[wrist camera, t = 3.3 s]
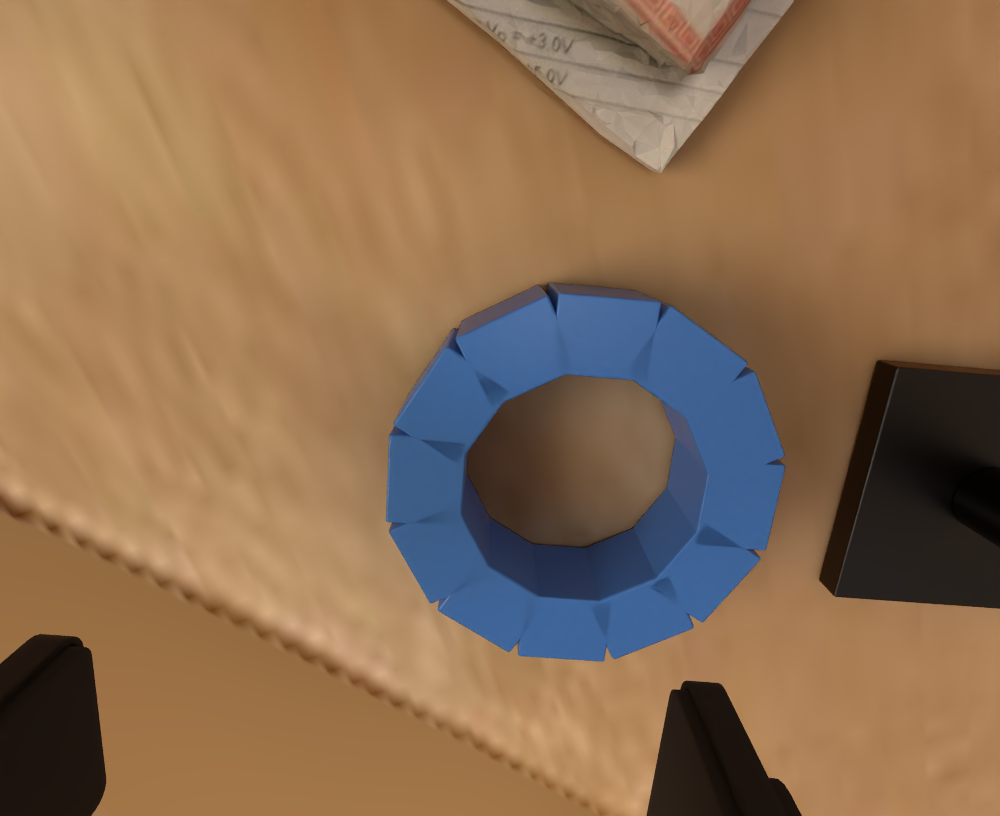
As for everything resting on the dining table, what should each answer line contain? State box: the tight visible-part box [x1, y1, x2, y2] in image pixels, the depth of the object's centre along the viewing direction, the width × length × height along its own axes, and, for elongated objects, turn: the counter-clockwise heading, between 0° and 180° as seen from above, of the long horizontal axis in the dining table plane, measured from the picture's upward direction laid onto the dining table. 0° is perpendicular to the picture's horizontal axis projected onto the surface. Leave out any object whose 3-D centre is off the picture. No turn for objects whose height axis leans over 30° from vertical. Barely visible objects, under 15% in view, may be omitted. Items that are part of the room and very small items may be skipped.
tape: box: [386, 283, 785, 662], centre depth 21 cm, size 12×12×4 cm
